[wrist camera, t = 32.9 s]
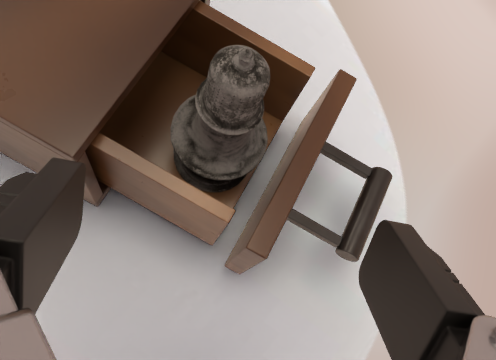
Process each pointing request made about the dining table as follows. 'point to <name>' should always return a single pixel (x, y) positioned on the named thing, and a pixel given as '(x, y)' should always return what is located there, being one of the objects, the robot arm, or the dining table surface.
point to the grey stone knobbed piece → (223, 122)
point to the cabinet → (74, 72)
